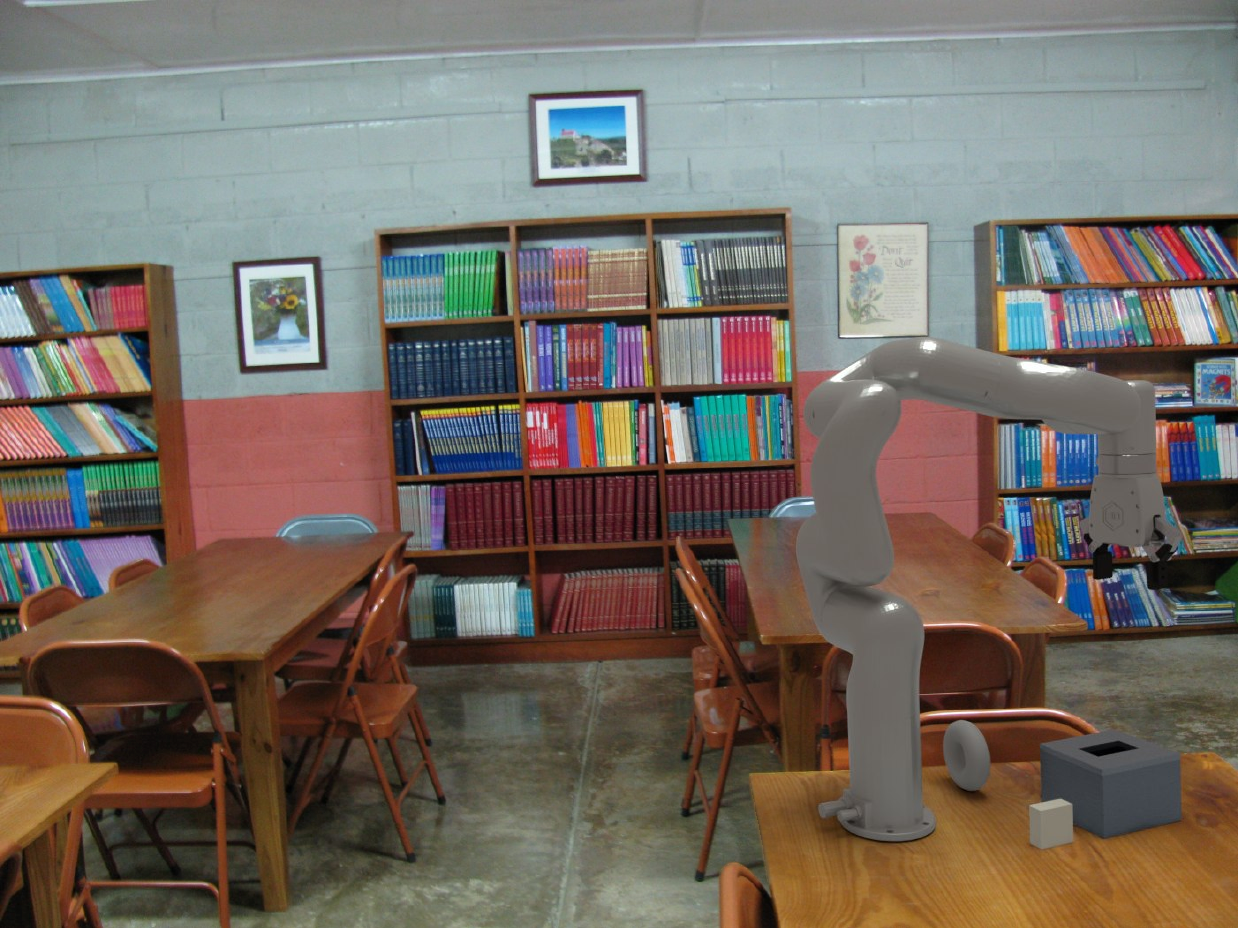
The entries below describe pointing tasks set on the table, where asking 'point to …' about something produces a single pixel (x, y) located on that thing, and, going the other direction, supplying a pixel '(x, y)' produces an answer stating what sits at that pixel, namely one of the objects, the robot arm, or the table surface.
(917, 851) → the table surface
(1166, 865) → the table surface
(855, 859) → the table surface
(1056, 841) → the token
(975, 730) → the donut
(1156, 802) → the box
